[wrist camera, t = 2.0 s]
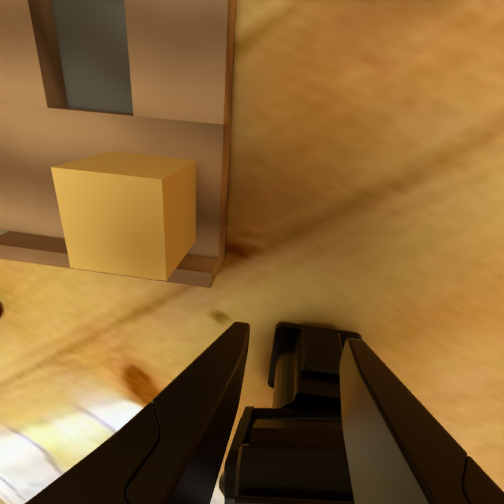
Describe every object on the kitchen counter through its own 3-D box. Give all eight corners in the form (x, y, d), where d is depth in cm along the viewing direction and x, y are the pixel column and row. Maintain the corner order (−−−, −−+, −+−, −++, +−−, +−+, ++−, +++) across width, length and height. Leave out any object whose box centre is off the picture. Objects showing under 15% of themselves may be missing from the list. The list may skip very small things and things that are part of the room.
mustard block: (195, 241, 20) (166, 281, 16) (120, 231, 20) (70, 267, 16) (196, 159, 18) (161, 179, 13) (111, 151, 18) (50, 167, 14)
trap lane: (224, 258, 23) (209, 289, 19) (-57, 221, 24) (-121, 243, 21) (237, -31, 16) (218, -73, 12) (-157, -52, 17) (-283, -94, 14)
